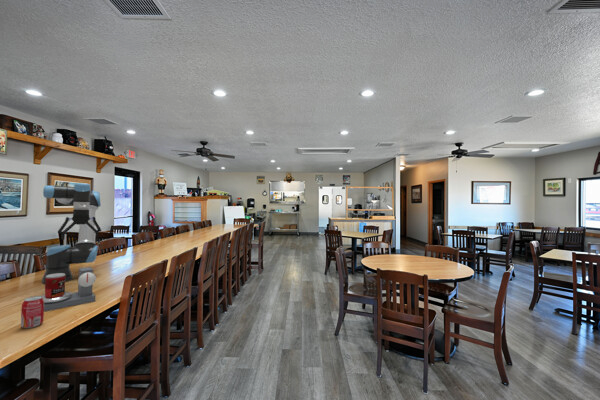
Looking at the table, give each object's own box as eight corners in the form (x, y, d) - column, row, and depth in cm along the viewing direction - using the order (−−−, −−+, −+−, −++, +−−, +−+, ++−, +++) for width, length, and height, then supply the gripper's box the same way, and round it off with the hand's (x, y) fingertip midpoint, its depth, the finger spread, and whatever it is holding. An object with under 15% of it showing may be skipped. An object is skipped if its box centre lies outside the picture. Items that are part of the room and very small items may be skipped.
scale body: (31, 305, 137) (33, 272, 137) (90, 294, 155) (92, 265, 155) (33, 313, 127) (34, 278, 127) (95, 301, 145) (97, 270, 145)
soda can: (30, 322, 119) (32, 295, 119) (47, 321, 120) (49, 295, 120) (15, 329, 112) (16, 301, 112) (33, 329, 113) (34, 301, 113)
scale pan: (34, 299, 137) (34, 295, 137) (70, 292, 148) (70, 289, 148) (36, 306, 128) (36, 303, 128) (74, 299, 138) (74, 296, 138)
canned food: (52, 299, 133) (53, 277, 134) (40, 297, 135) (41, 276, 135) (68, 294, 141) (69, 273, 141) (56, 292, 143) (57, 272, 143)
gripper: (53, 209, 147) (52, 247, 147) (107, 209, 166) (106, 243, 166) (52, 208, 153) (50, 245, 152) (105, 208, 171) (103, 241, 171)
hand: (79, 244), depth 159 cm, fingers open, 13 cm apart
